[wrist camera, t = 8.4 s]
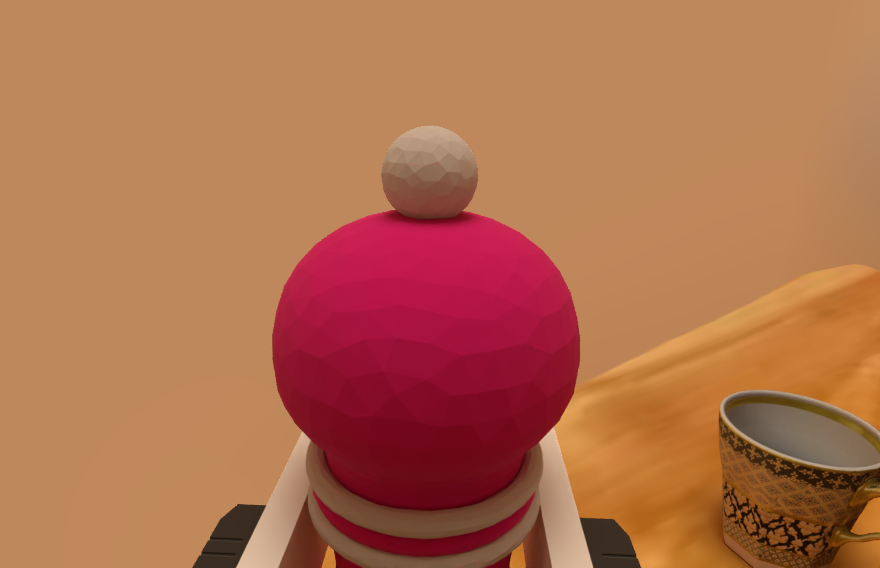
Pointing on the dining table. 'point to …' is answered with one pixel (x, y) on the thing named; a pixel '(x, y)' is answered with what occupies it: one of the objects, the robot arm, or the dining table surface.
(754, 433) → the ceramic cup
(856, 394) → the dining table surface
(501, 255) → the pepper mill
